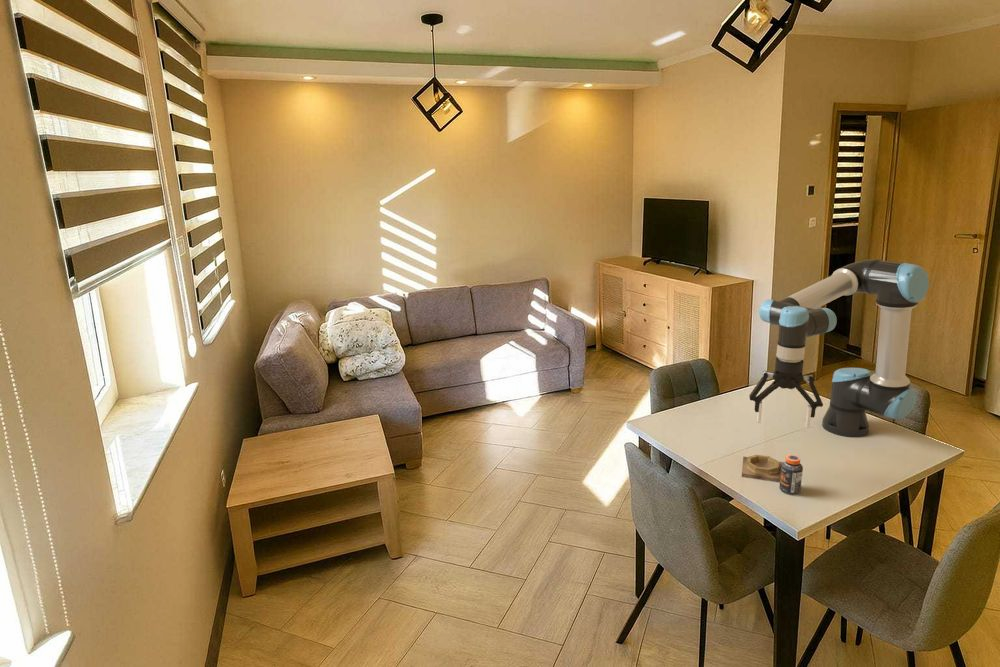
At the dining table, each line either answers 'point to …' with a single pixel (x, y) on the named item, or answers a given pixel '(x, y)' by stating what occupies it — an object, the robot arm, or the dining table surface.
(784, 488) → the pill bottle
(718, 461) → the dining table surface
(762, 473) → the socket board
